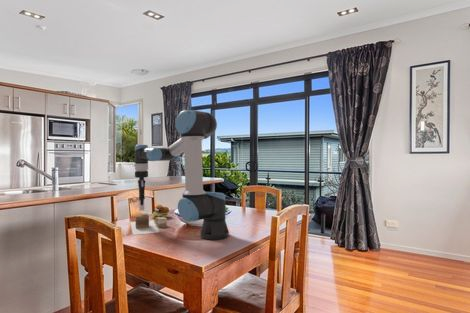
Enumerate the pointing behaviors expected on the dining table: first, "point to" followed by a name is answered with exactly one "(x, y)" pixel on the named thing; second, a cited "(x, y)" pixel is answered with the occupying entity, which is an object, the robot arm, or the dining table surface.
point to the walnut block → (142, 221)
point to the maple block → (161, 222)
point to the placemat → (151, 228)
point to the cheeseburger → (160, 212)
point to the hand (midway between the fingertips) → (141, 210)
